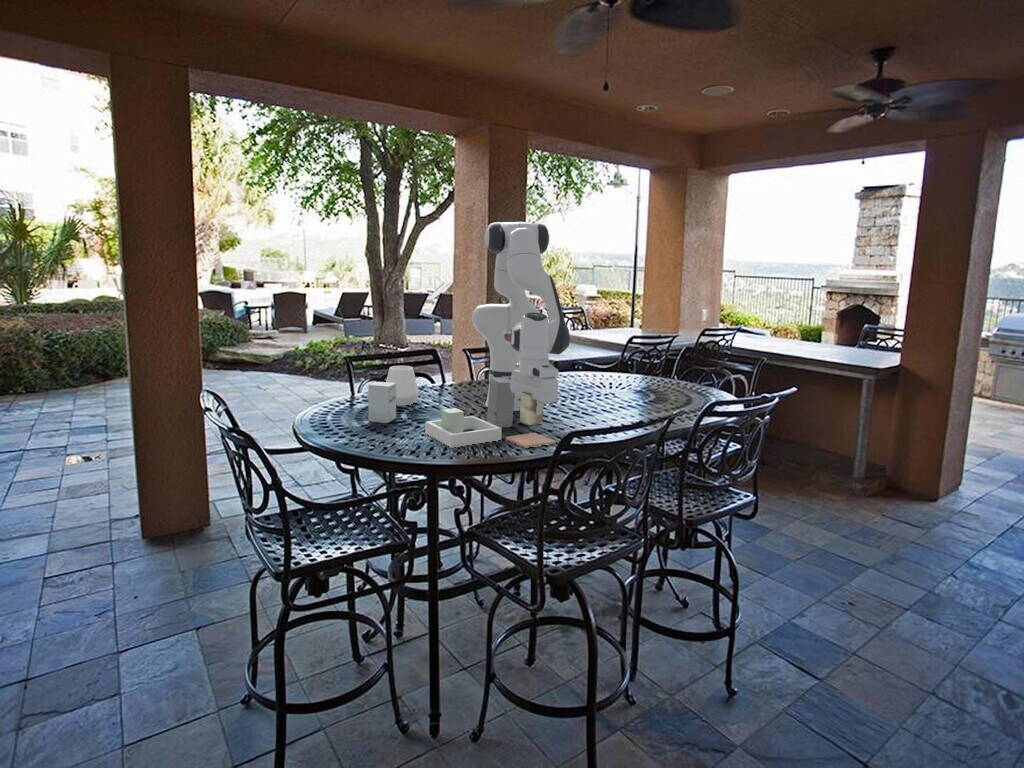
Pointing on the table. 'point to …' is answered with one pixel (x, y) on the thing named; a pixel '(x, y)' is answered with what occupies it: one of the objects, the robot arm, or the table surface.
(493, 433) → the bin
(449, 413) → the plain block
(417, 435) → the table surface
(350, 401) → the table surface
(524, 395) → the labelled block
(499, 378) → the skincare box
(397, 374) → the cup
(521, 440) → the tile
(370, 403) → the supplement box
